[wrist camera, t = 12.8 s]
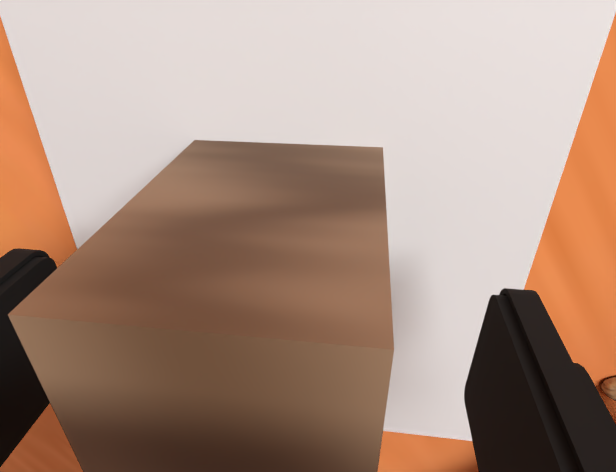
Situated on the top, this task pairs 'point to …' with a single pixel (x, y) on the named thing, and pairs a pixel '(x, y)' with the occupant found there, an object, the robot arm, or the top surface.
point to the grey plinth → (337, 131)
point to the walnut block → (226, 317)
